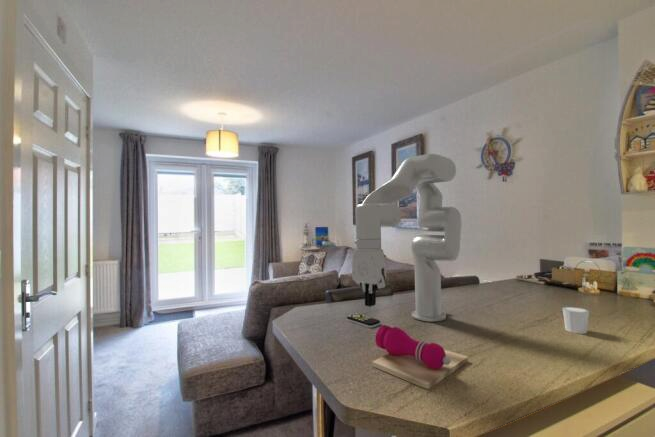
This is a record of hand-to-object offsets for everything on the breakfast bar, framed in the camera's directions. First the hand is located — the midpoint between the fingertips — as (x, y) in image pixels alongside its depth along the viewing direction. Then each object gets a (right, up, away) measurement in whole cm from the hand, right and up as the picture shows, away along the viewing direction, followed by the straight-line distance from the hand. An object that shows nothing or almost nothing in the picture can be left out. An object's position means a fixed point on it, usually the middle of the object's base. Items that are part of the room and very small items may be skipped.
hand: (370, 305), depth 95 cm
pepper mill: (+2, -7, -6) cm, 9 cm away
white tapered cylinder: (+69, -11, +9) cm, 71 cm away
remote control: (0, -13, +22) cm, 25 cm away
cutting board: (+12, -12, -13) cm, 21 cm away
